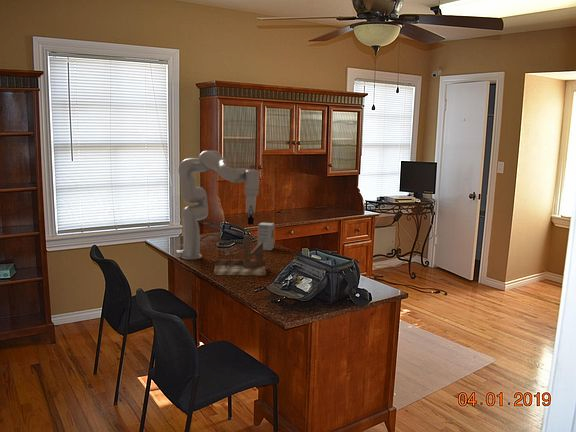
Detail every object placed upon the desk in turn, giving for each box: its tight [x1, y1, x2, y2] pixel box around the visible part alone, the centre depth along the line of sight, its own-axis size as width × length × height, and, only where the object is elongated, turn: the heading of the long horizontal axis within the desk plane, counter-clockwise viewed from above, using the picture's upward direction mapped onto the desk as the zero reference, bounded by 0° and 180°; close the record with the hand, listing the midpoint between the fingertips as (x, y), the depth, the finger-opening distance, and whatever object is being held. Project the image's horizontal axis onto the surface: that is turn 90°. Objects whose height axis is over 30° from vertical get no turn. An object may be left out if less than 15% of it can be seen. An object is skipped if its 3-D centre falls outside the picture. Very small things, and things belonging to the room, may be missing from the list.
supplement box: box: [257, 222, 275, 251], centre depth 334 cm, size 10×9×17 cm
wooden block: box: [242, 234, 264, 268], centre depth 281 cm, size 4×11×18 cm, turn 107°
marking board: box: [213, 258, 267, 276], centre depth 280 cm, size 28×14×5 cm, turn 94°
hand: (250, 222), depth 280 cm, fingers open, 9 cm apart
